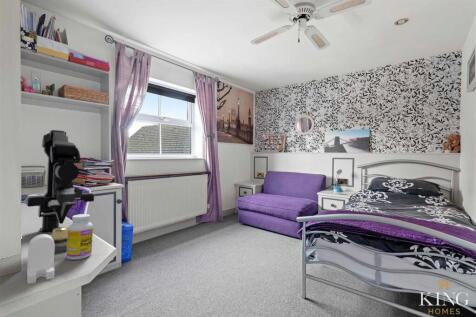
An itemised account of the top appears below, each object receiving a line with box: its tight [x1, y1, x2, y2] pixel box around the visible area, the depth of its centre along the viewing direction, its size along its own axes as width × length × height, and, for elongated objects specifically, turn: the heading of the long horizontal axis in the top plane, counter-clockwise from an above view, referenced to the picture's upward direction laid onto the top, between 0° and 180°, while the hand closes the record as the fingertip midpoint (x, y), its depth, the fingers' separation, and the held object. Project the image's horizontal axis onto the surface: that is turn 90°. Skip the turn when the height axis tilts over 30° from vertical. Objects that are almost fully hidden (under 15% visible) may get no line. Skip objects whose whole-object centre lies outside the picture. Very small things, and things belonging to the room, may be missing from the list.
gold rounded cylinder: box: [52, 226, 69, 244], centre depth 84 cm, size 4×4×6 cm
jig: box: [50, 235, 67, 254], centre depth 84 cm, size 14×9×2 cm, turn 46°
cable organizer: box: [26, 233, 55, 285], centre depth 63 cm, size 5×10×10 cm, turn 42°
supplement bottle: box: [66, 213, 94, 261], centre depth 75 cm, size 7×7×13 cm
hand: (61, 223), depth 84 cm, fingers closed
